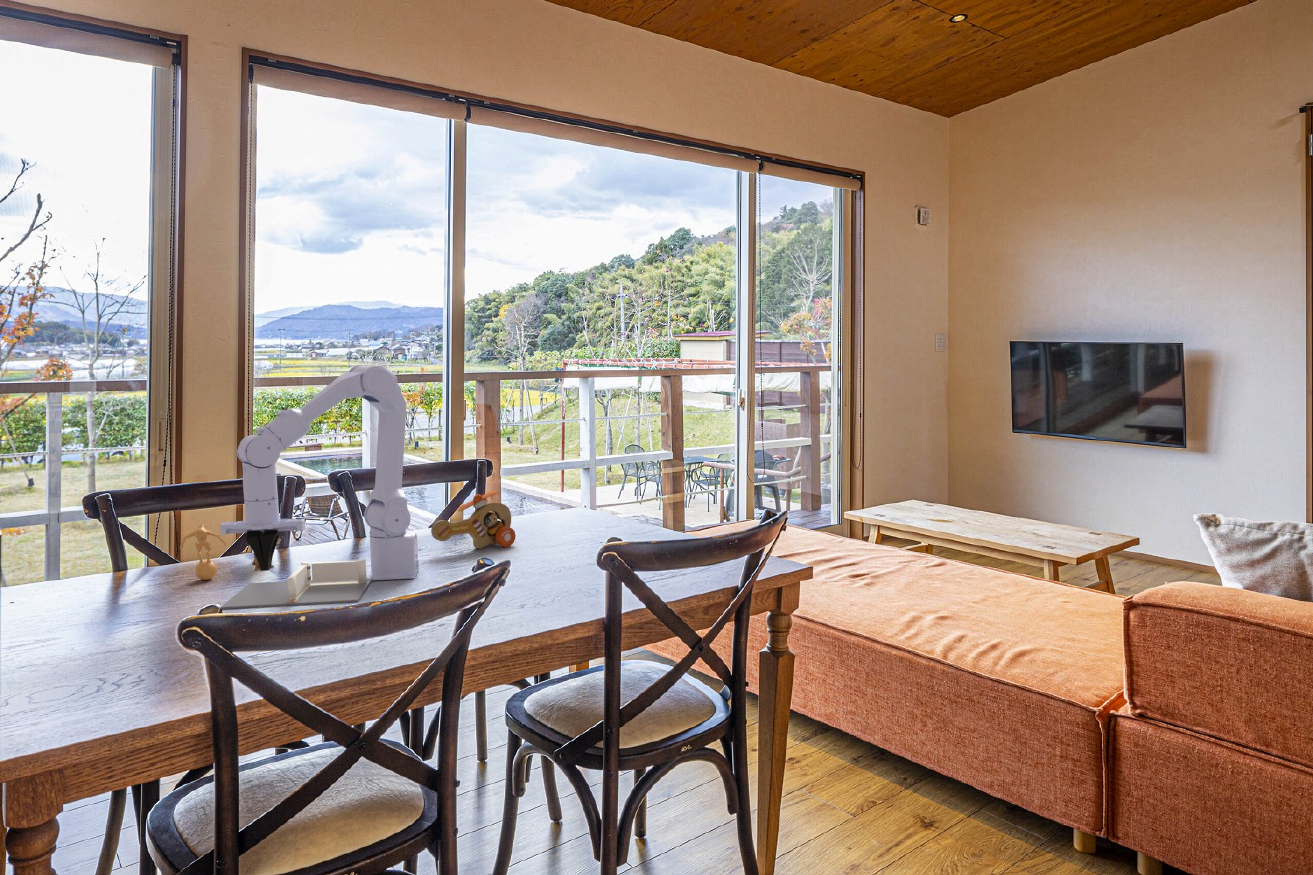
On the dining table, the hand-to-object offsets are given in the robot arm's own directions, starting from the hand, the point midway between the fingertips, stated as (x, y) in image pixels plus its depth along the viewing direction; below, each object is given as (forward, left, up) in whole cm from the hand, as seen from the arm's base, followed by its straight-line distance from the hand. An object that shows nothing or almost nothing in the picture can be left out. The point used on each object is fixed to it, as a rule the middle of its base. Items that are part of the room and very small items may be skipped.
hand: (265, 569), depth 155 cm
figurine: (+17, -16, -6) cm, 24 cm away
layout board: (-5, -3, -6) cm, 8 cm away
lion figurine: (+8, -27, -6) cm, 29 cm away
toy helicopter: (-37, -34, -6) cm, 51 cm away
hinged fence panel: (-5, -1, -5) cm, 7 cm away
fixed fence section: (-11, -7, -5) cm, 14 cm away
